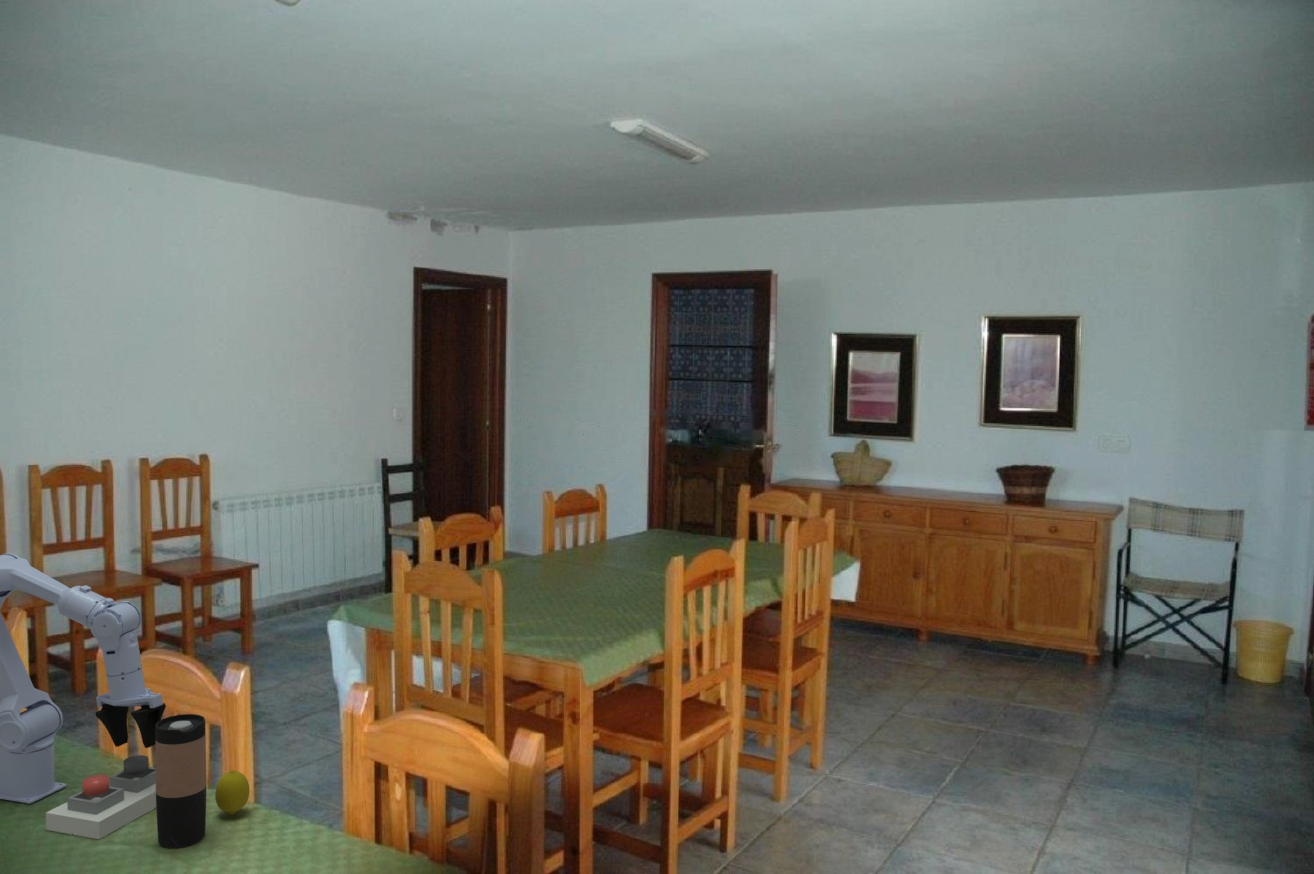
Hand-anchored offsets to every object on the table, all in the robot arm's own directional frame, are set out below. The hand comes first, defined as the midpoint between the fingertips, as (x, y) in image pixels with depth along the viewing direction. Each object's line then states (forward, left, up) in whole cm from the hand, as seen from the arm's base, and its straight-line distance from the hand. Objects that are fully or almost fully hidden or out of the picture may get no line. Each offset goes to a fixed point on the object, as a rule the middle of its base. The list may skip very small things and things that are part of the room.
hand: (136, 745), depth 179 cm
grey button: (0, 0, -5) cm, 5 cm away
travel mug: (+18, -9, -11) cm, 23 cm away
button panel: (0, -4, -10) cm, 11 cm away
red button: (0, -9, -5) cm, 10 cm away
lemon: (+20, +1, -11) cm, 22 cm away
